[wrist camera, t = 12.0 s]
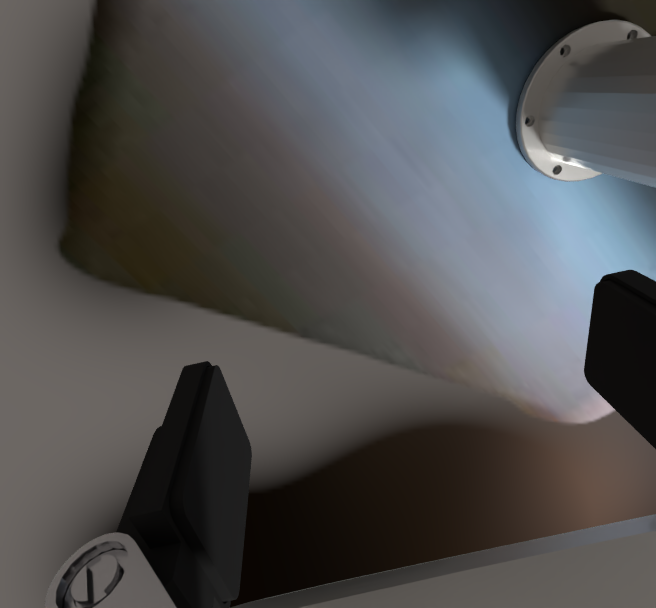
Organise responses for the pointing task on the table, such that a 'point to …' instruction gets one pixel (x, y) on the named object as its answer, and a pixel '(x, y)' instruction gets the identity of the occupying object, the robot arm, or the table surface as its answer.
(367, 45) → the table surface
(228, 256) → the table surface
